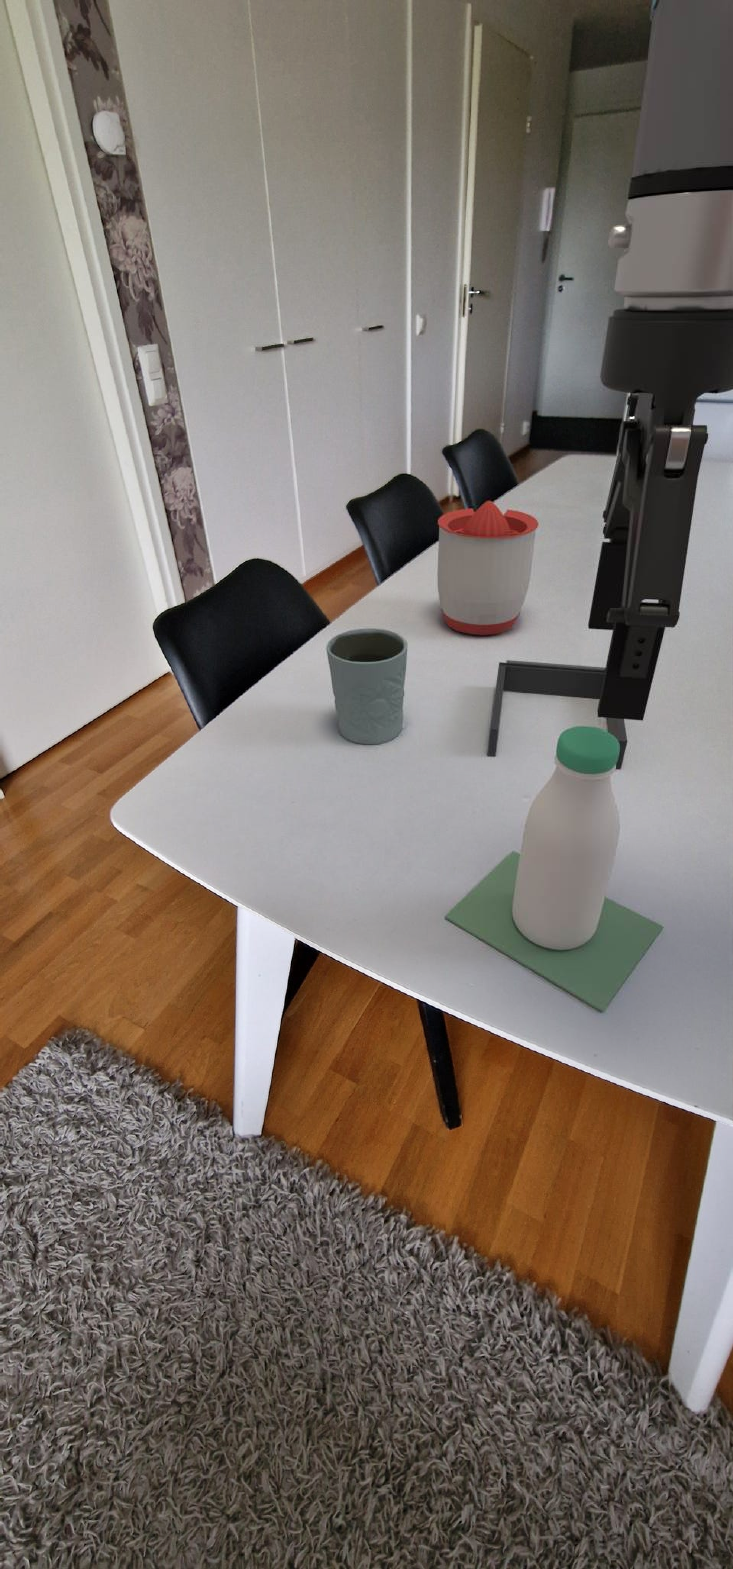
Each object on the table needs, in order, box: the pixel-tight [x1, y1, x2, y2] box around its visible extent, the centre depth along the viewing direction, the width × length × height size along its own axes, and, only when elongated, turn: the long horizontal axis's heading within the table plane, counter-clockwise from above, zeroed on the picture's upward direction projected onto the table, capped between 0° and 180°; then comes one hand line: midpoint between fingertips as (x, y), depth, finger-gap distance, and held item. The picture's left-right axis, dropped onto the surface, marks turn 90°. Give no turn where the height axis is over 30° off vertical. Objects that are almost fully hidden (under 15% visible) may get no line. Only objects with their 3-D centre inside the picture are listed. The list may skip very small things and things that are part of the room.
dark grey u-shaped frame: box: [487, 659, 628, 770], centre depth 92 cm, size 18×16×5 cm
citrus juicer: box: [436, 500, 539, 636], centre depth 115 cm, size 16×17×20 cm
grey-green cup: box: [325, 627, 409, 746], centre depth 90 cm, size 10×10×12 cm
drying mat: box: [444, 850, 664, 1014], centre depth 65 cm, size 16×12×1 cm
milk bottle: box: [512, 725, 621, 950], centre depth 59 cm, size 8×8×20 cm
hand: (612, 667), depth 50 cm, fingers open, 13 cm apart
